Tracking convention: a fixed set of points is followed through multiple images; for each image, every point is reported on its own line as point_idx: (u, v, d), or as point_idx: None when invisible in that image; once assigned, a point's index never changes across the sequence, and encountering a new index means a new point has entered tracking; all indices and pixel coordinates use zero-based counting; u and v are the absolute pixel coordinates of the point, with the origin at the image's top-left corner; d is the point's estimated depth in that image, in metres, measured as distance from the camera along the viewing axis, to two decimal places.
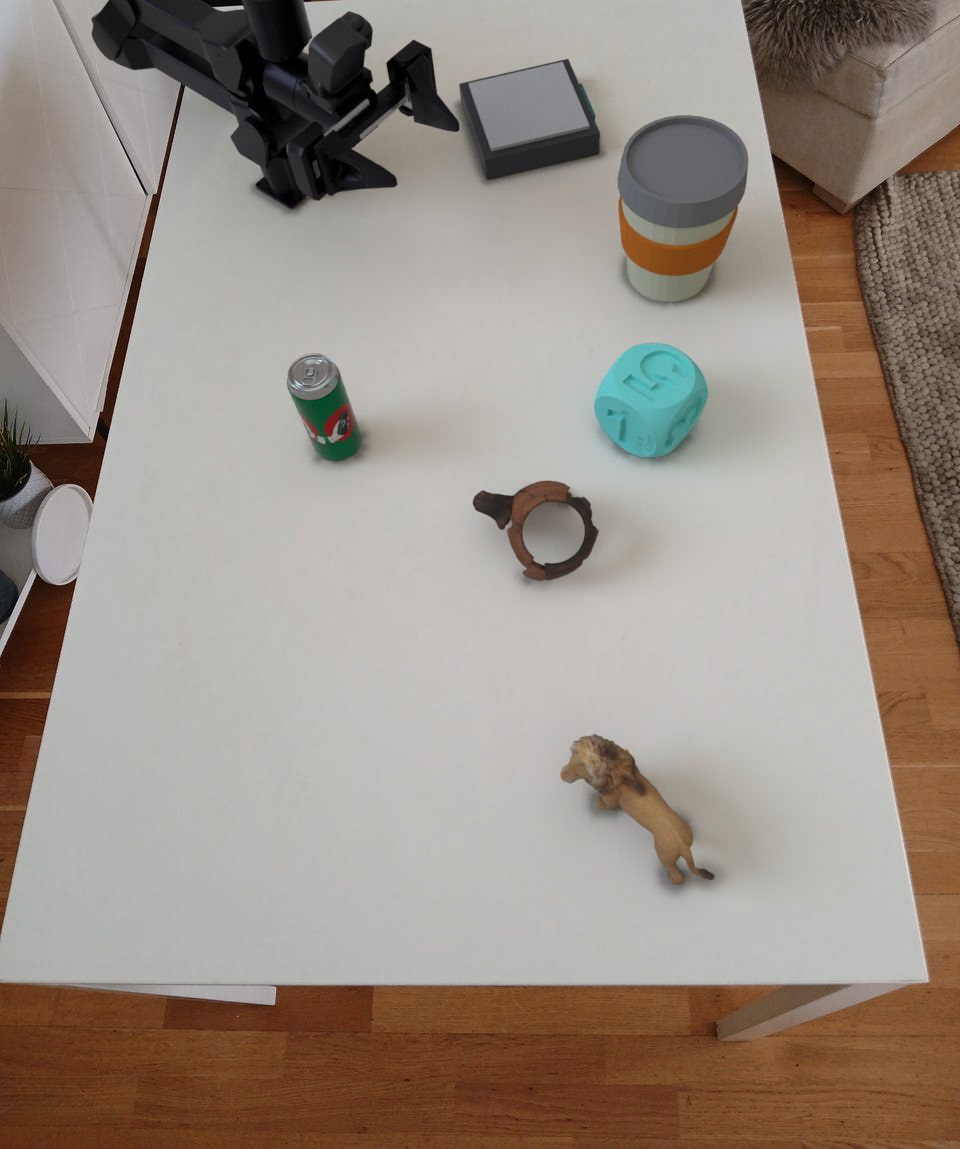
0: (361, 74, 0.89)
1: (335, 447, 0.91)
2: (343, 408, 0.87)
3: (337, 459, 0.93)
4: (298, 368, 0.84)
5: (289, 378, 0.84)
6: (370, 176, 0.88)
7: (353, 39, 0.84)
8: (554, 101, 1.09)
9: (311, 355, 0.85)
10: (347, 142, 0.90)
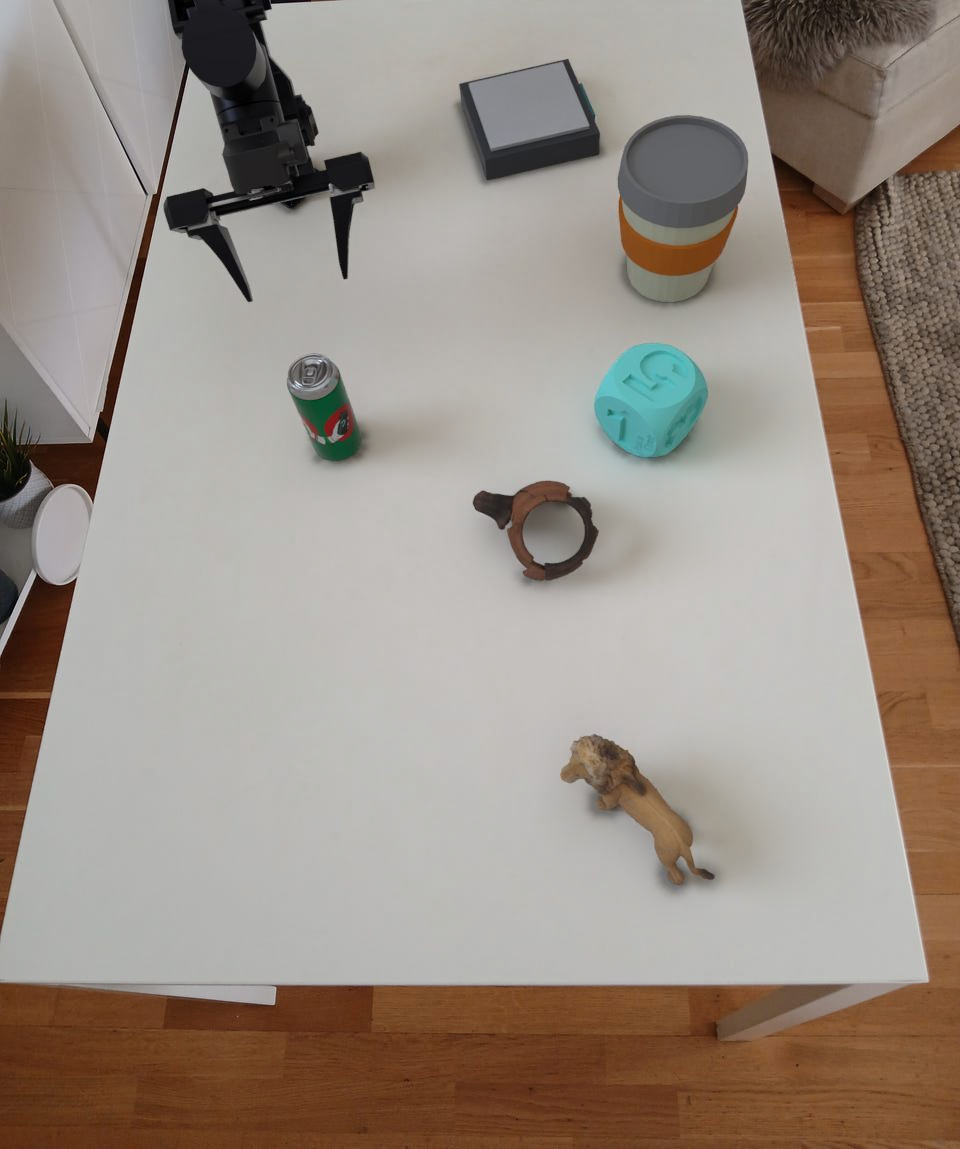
0: None
1: (335, 447, 0.91)
2: (343, 408, 0.87)
3: (337, 459, 0.93)
4: (298, 368, 0.84)
5: (289, 378, 0.84)
6: None
7: (271, 179, 0.76)
8: (554, 101, 1.09)
9: (311, 355, 0.85)
10: (239, 211, 0.83)
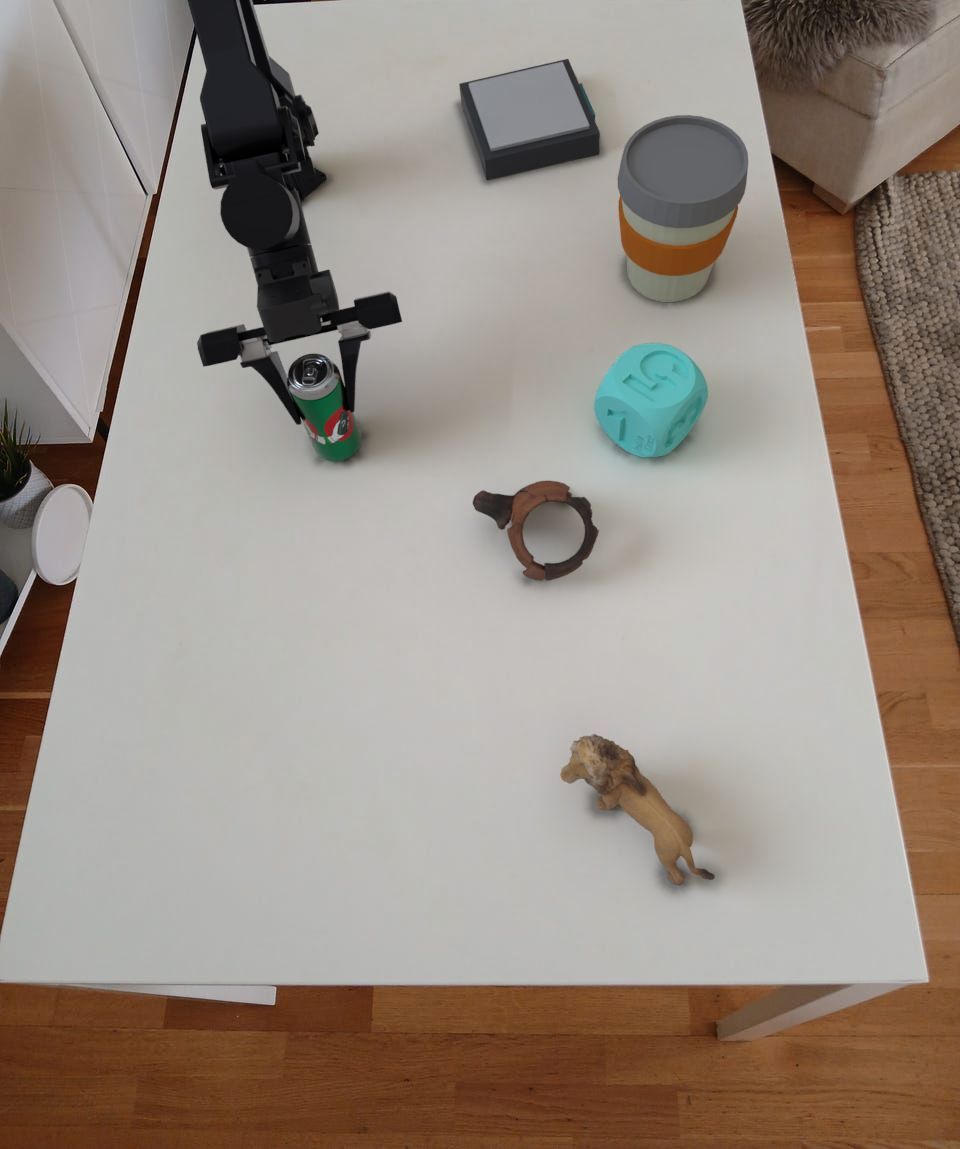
0: None
1: (335, 447, 0.91)
2: (343, 408, 0.87)
3: (337, 459, 0.93)
4: (299, 368, 0.84)
5: (289, 378, 0.84)
6: None
7: (304, 329, 0.78)
8: (554, 101, 1.09)
9: (311, 355, 0.85)
10: (270, 344, 0.86)
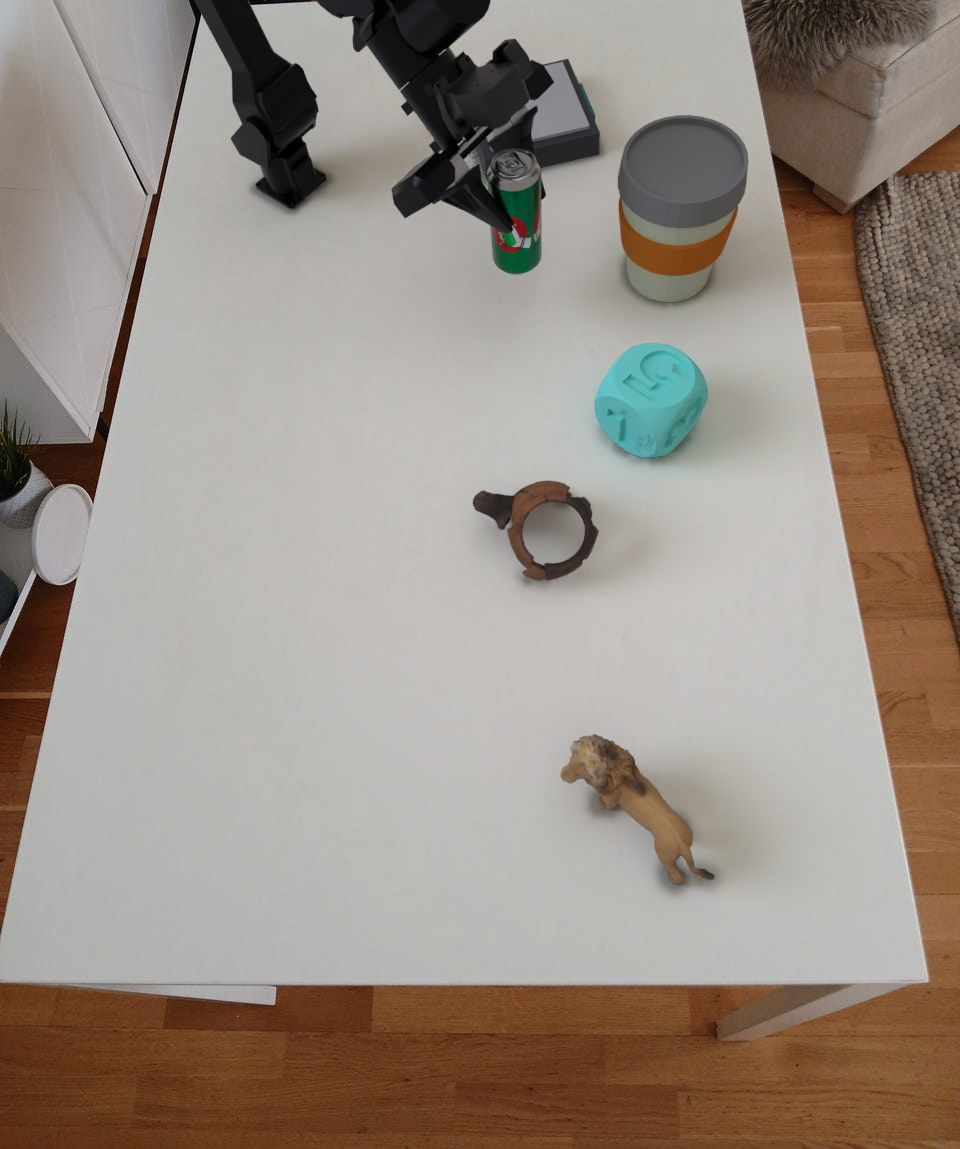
0: None
1: (536, 248, 0.91)
2: None
3: (534, 264, 0.93)
4: (501, 167, 0.83)
5: (501, 177, 0.83)
6: (488, 216, 0.86)
7: (522, 98, 0.78)
8: (554, 101, 1.09)
9: (498, 153, 0.84)
10: None
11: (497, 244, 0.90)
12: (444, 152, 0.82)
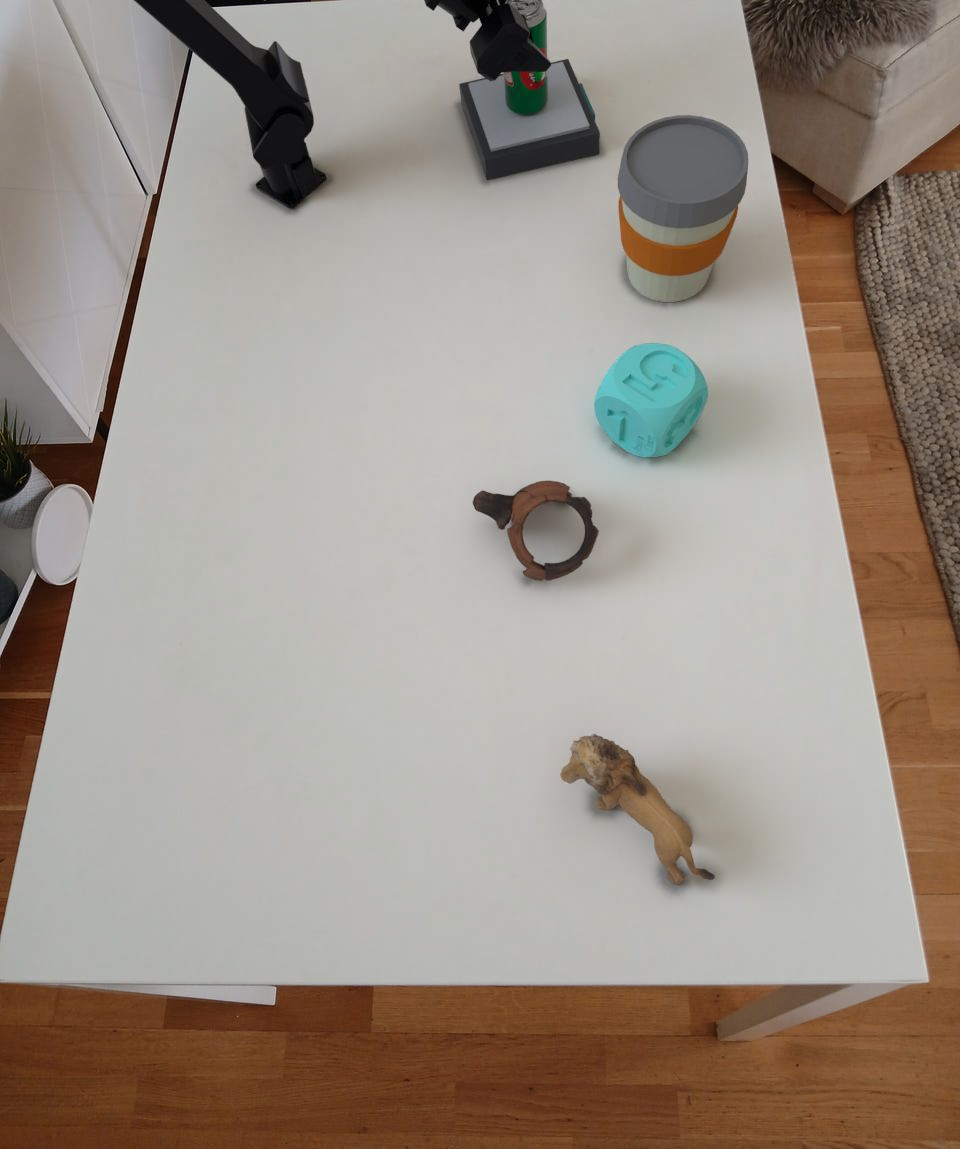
0: None
1: None
2: None
3: None
4: (519, 12, 0.98)
5: (529, 16, 0.98)
6: (534, 60, 0.99)
7: None
8: (554, 101, 1.09)
9: None
10: None
11: (527, 88, 1.05)
12: (486, 13, 0.95)
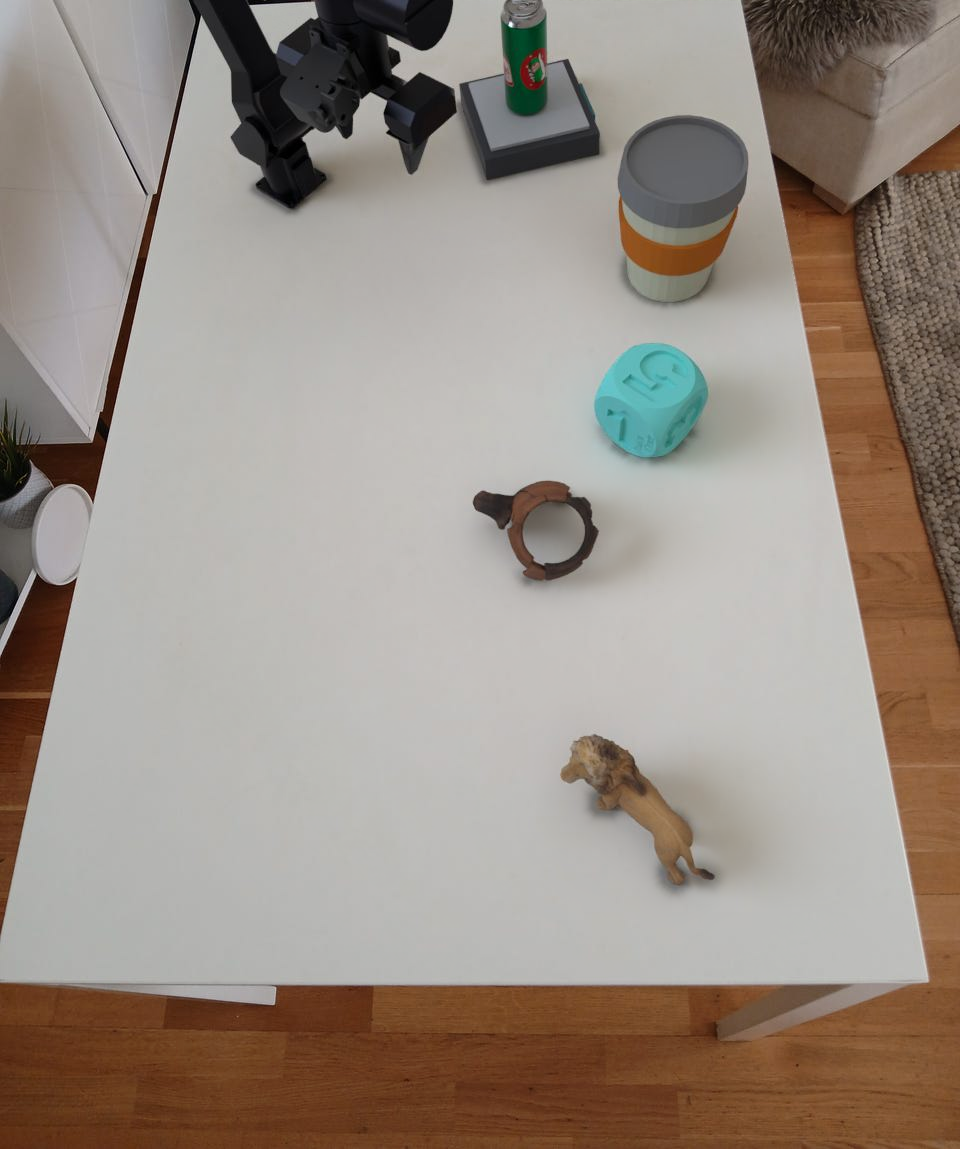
0: None
1: None
2: None
3: None
4: (519, 12, 0.98)
5: (529, 16, 0.98)
6: None
7: (314, 126, 0.84)
8: (554, 101, 1.09)
9: (505, 8, 0.99)
10: None
11: (527, 88, 1.05)
12: None
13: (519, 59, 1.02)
